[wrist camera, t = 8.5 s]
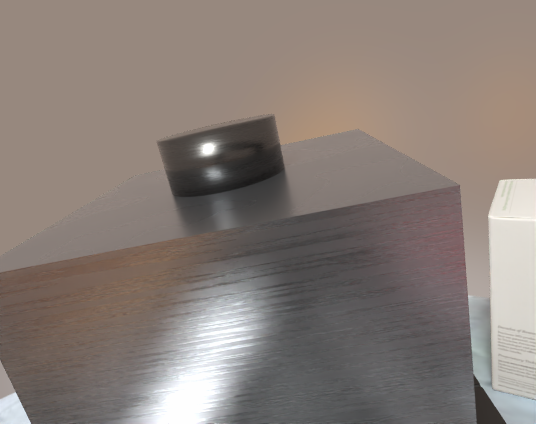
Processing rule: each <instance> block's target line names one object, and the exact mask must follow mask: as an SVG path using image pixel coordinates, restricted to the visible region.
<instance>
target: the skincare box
mask: <svg viewBox="0 0 536 424" xmlns="http://www.w3.org/2000/svg"><path fill="white" fill-rule="evenodd" d="M488 222H489V267H490V320H491V363H492V388H493V389H494V390H497V391H501V392H505V393H509V394H513V395H518V396H522V397H526V398H530V399H534V400H536V179H513V180H512V179H511V180H500V182H499V185H498V188H497V190H496V193H495V196H494V199H493V202H492V205H491V208H490V211H489V215H488Z"/></svg>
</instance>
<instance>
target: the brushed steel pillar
mask: <svg viewBox="0 0 536 424" xmlns="http://www.w3.org/2000/svg"><path fill="white" fill-rule="evenodd" d="M157 144H158V148H159V151H160V154H161V158H162V161H163V164H164V168H165V169H164V170H159V171H155V172H151V173H145V174H140V175H135V176H133V177H132V178H130V179H128V180H127V181H125V182H123V183H122V184H120V185H118V186H117V187H115V188H113V189H112V190H110V191H108V192H107V193H105V194H103V195H102V196H100V197H98V198H97V199H95V200H93V201H92V202H90V203H88V204H87V205H85V206H83V207H82V208H80V209H78V210H77V211H75V212H73V213H72V214H70V215H68V216H67V217H65V218H63V219H62V220H60V221H58V222H57V223H55V224H53V225H51V226H50V227H48V228H47V229H45V230H43V231H41V232H40V233H38V234H36V235H35V236H33V237H31V238H30V239H28V240H27V241H25V242H23V243H21V244H20V245H18V246H16V247H15V248H13V249H11V250H10V251H8V252H6V253H5V254H3V255H1V256H0V360H1V363H2V365H3V367H4V369H5V371H6V373H7V375H8V377H9V379H10V381H11V383H12V385H13V387H14V389H15V391H16V393H17V395H18V397H19V399H20V402H21V404H22V406H23V408H24V410H25V412H26V414H27V416H28V418H29V420H30V422H31V424H477V421H476V407H475V392H474V378H473V364H472V350H471V336H470V321H469V307H468V293H467V280H466V265H465V252H464V237H463V223H462V208H461V194H460V185H459V184H457V183H455V182H454V181H452V180H450V179H448V178H446V177H445V176H443V175H441V174H439V173H437V172H435V171H433V170H432V169H430V168H428V167H426V166H425V165H423V164H421V163H419V162H417V161H415V160H414V159H412V158H410V157H408V156H406V155H405V154H403V153H400V152H399V151H397V150H395V149H394V148H392V147H390V146H388V145H386V144H384V143H383V142H381V141H379V140H377V139H375V138H373V137H372V136H370V135H368V134H366V133H365V132H363V131H361V130H359V129H356V130H352V131H347V132H342V133H338V134H333V135H328V136H323V137H318V138H314V139H309V140H304V141H299V142H294V143H289V144H285V145H280V142H279V136H278V131H277V127H276V121H275V116H274V114H270V115H261V116H255V117H249V118H244V119H239V120H234V121H229V122H224V123H220V124H216V125H211V126H207V127H202V128H199V129H194V130H190V131H186V132H183V133H179V134H176V135H172V136H169V137H166V138H163V139H160V140H158V141H157Z"/></svg>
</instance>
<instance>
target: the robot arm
mask: <svg viewBox="0 0 536 424" xmlns="http://www.w3.org/2000/svg"><path fill="white" fill-rule="evenodd" d="M473 378H474V392H475V407H476V421H477V424H506V422H505V421H504V419H503V418H502V416H501V415H500V413H499V412H498V410H497V409H496V407H495V406H494V404H493V403H492V401H491V400H490V398H489V397H488V395H487V394H486V392H485V391H484V389H483V388H482V387H481V386H480V383H479V382H478V380H477V379H476V377H475V376H474V374H473Z"/></svg>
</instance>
